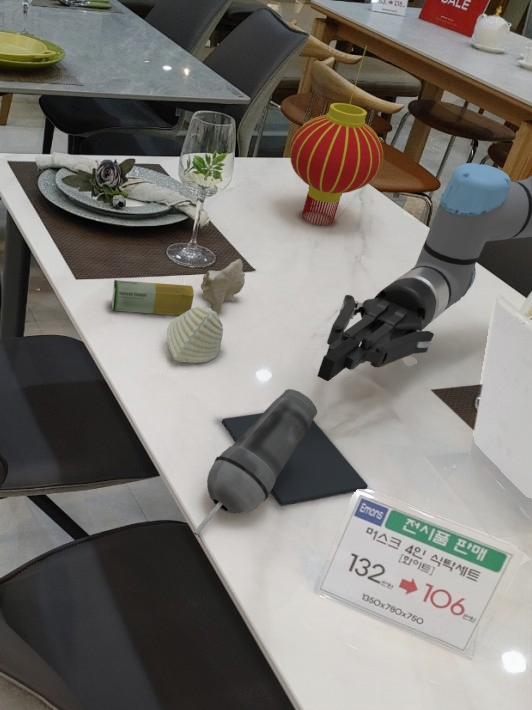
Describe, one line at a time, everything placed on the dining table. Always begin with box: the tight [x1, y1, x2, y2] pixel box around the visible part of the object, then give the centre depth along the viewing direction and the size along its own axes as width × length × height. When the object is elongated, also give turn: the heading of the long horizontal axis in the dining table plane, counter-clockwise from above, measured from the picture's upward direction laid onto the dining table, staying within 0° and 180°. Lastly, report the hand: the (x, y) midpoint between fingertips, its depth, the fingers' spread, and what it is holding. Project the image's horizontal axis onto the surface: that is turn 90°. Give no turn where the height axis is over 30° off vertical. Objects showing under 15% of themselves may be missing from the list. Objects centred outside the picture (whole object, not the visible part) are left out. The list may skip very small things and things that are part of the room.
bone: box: [200, 258, 246, 315], centre depth 118 cm, size 9×6×10 cm
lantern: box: [288, 45, 384, 227], centre depth 140 cm, size 17×17×30 cm
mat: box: [221, 412, 369, 507], centre depth 95 cm, size 16×12×1 cm
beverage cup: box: [193, 388, 318, 536], centre depth 85 cm, size 7×7×20 cm
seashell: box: [166, 306, 224, 364], centre depth 108 cm, size 8×8×8 cm
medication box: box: [111, 279, 195, 316], centre depth 115 cm, size 12×3×4 cm, turn 94°
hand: (325, 369), depth 89 cm, fingers closed
